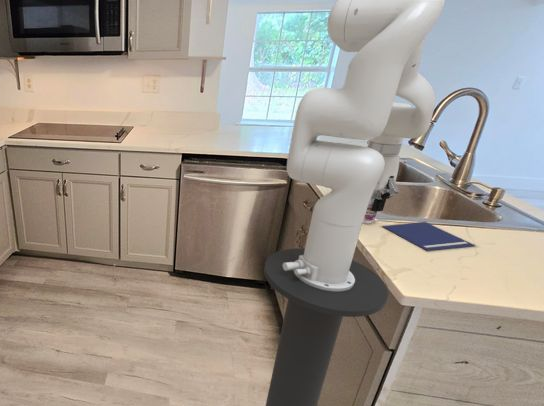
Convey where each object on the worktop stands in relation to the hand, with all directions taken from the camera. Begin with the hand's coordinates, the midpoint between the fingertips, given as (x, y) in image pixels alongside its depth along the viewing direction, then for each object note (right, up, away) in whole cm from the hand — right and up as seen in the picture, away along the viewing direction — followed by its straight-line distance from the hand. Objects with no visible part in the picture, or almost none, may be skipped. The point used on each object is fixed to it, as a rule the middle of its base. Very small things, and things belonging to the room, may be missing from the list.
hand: (367, 205), depth 109 cm
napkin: (+11, -8, -8) cm, 16 cm away
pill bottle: (0, -5, +2) cm, 5 cm away
